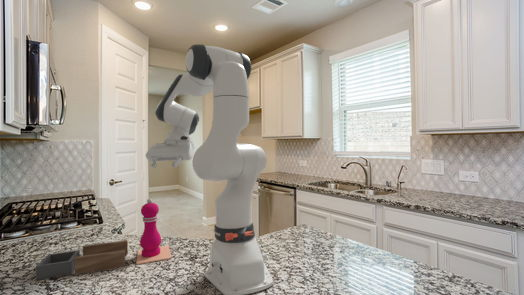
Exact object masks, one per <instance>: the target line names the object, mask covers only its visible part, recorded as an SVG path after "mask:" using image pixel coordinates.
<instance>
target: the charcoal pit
mask: <svg viewBox="0 0 524 295" xmlns="http://www.w3.org/2000/svg"><path fill="white" fill-rule="evenodd" d="M78 256H81V251H80V249H79V250H78V249H77V250H71V251H65V252H64V251H63V252H57V253H56V252H55V253H51V254H50V253H49V254H47V255H46V256H45V257H44V258H43V259H42V260H41V261H40V262H39V263H38V264H36V266H35V280H36V281H38V280H44V279H51V278H57V277H62V276H69V275H73V273H74V272H75V267H74V258H75V257H78Z"/></svg>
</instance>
